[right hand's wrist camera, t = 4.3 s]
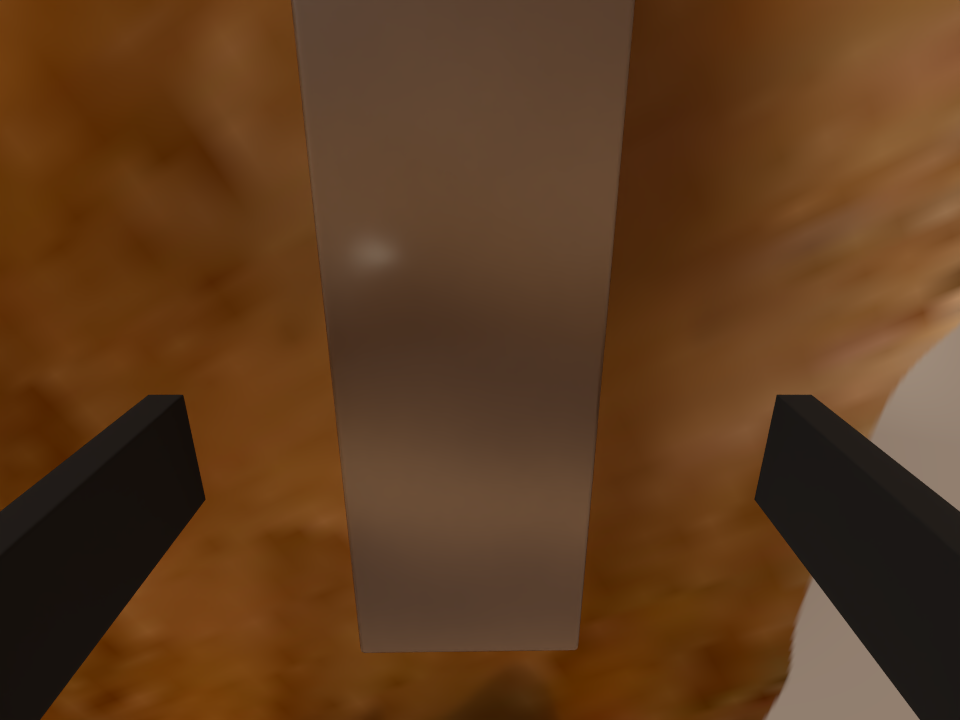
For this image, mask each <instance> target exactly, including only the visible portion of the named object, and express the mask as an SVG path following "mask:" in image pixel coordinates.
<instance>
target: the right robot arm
mask: <svg viewBox="0 0 960 720" xmlns="http://www.w3.org/2000/svg"><path fill="white" fill-rule="evenodd" d="M204 501H205V495H204V490H203V486H202V481H201V476H200V471H199V467H198V462H197V457H196V453H195V448H194V443H193V439H192V434H191V429H190V425H189V420H188V415H187V411H186V406H185V401H184V396H183V395H148V396H146V397H145V398H144V399H143V400H141V401H140V402H139V403H138V404H136V405H135V406H134V407H133V408H131V409H130V410H129V411H127V412H126V413H125V414H124V415H122V416H121V417H120V418H119V419H117V420H116V421H115V422H113V423H112V424H111V425H110V426H108V427H107V428H106V429H105V430H103V431H102V432H101V433H99V434H98V435H97V436H96V437H94V438H93V439H92V440H91V441H89V442H88V443H87V444H86V445H84V446H83V447H82V448H80V449H79V450H78V451H77V452H75V453H74V454H73V455H72V456H70V457H69V458H68V459H66V460H65V461H64V462H63V463H61V464H60V465H59V466H58V467H56V468H55V469H54V470H52V471H51V472H50V473H49V474H47V475H46V476H45V477H44V478H42V479H41V480H40V481H39V482H37V483H36V484H35V485H33V486H32V487H31V488H30V489H28V490H27V491H26V492H25V493H23V494H22V495H21V496H19V497H18V498H17V499H16V500H14V501H13V502H12V503H11V504H9V505H8V506H7V507H6V508H4V509H3V510H2V511H0V720H40V719H41V718H42V716H43V715H44V714H45V712H46V711H47V710H48V708H49V707H50V706H51V704H52V703H53V702H54V700H55V699H56V698H57V696H58V695H59V694H60V692H61V691H62V690H63V688H64V687H65V686H66V684H67V683H68V682H69V680H70V679H71V678H72V676H73V675H74V674H75V672H76V671H77V670H78V668H79V667H80V666H81V664H82V663H83V662H84V660H85V659H86V658H87V656H88V655H89V654H90V652H91V651H92V650H93V649H94V647H95V646H96V645H97V643H98V642H99V641H100V639H101V638H102V637H103V635H104V634H105V633H106V631H107V630H108V629H109V627H110V626H111V625H112V623H113V622H114V621H115V619H116V618H117V617H118V615H119V614H120V613H121V611H122V610H123V609H124V607H125V606H126V605H127V603H128V602H129V601H130V599H131V598H132V597H133V595H134V594H135V593H136V591H137V590H138V589H139V587H140V586H141V585H142V583H143V582H144V581H145V579H146V578H147V577H148V575H149V574H150V573H151V571H152V570H153V569H154V567H155V566H156V565H157V563H158V562H159V561H160V559H161V558H162V557H163V555H164V554H165V553H166V551H167V550H168V549H169V547H170V546H171V545H172V543H173V542H174V541H175V539H176V538H177V537H178V535H179V534H180V533H181V531H182V530H183V529H184V527H185V526H186V525H187V523H188V522H189V521H190V519H191V518H192V517H193V515H194V514H195V513H196V511H197V510H198V509H199V507H200V506H201V505H202V503H203V502H204ZM755 501H756V502H757V503H758V505H759V506H760V507H761V509H762V510H763V511H764V513H765V514H766V515H767V517H768V518H769V519H770V521H771V522H772V523H773V525H774V526H775V527H776V529H777V530H778V531H779V533H780V534H781V535H782V537H783V538H784V539H785V541H786V542H787V543H788V545H789V546H790V547H791V549H792V550H793V551H794V553H795V554H796V555H797V557H798V558H799V559H800V561H801V562H802V563H803V565H804V566H805V567H806V569H807V570H808V571H809V573H810V574H811V575H812V577H813V578H814V579H815V581H816V582H817V583H818V585H819V586H820V587H821V589H822V590H823V591H824V593H825V594H826V595H827V597H828V598H829V599H830V601H831V602H832V603H833V605H834V606H835V607H836V609H837V610H838V611H839V613H840V614H841V615H842V617H843V618H844V619H845V621H846V622H847V623H848V625H849V626H850V627H851V628H852V630H853V631H854V633H855V634H856V635H857V637H858V638H859V639H860V640H861V642H862V643H863V644H864V646H865V647H866V649H867V650H868V651H869V652H870V654H871V655H872V656H873V658H874V659H875V660H876V662H877V663H878V664H879V666H880V667H881V668H882V670H883V671H884V672H885V674H886V675H887V676H888V678H889V679H890V680H891V682H892V683H893V684H894V686H895V687H896V688H897V690H898V691H899V692H900V694H901V695H902V696H903V698H904V699H905V700H906V702H907V703H908V704H909V706H910V707H911V708H912V710H913V711H914V712H915V714H916V715H917V716H918V718H919V719H920V720H960V511H958V510H957V509H956V508H954V507H953V506H952V505H951V504H949V503H948V502H947V501H946V500H944V499H943V498H942V497H940V496H939V495H938V494H937V493H935V492H934V491H933V490H932V489H930V488H929V487H928V486H926V485H925V484H924V483H923V482H921V481H920V480H919V479H918V478H916V477H915V476H914V475H913V474H911V473H910V472H909V471H907V470H906V469H905V468H904V467H902V466H901V465H900V464H899V463H897V462H896V461H895V460H893V459H892V458H891V457H890V456H888V455H887V454H886V453H885V452H883V451H882V450H881V449H880V448H878V447H877V446H876V445H874V444H873V443H872V442H871V441H869V440H868V439H867V438H866V437H864V436H863V435H862V434H861V433H859V432H858V431H857V430H855V429H854V428H853V427H852V426H850V425H849V424H848V423H847V422H845V421H844V420H843V419H841V418H840V417H839V416H838V415H836V414H835V413H834V412H833V411H831V410H830V409H829V408H827V407H826V406H825V405H824V404H822V403H821V402H820V401H819V400H817V399H816V398H815V397H814V396H812V395H777V396H776V401H775V406H774V411H773V415H772V420H771V425H770V429H769V434H768V439H767V443H766V448H765V453H764V457H763V462H762V467H761V471H760V476H759V481H758V486H757V490H756V495H755Z"/></svg>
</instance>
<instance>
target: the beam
mask: <svg viewBox="0 0 960 720" xmlns="http://www.w3.org/2000/svg"><path fill="white" fill-rule="evenodd" d="M291 4H292V13H293V23H294V32H295V41H296V51H297V60H298V69H299V79H300V88H301V97H302V107H303V116H304V125H305V134H306V144H307V153H308V162H309V172H310V181H311V190H312V200H313V209H314V218H315V228H316V237H317V246H318V256H319V265H320V274H321V283H322V293H323V302H324V311H325V321H326V330H327V339H328V349H329V358H330V367H331V377H332V386H333V395H334V404H335V414H336V423H337V432H338V442H339V451H340V460H341V470H342V479H343V488H344V498H345V507H346V516H347V525H348V535H349V544H350V553H351V563H352V572H353V581H354V591H355V600H356V609H357V619H358V628H359V637H360V646H361V651H362V652H364V653H379V652H458V651H536V650H576V649H577V648H578V641H579V630H580V618H581V607H582V596H583V584H584V573H585V562H586V550H587V539H588V528H589V516H590V505H591V494H592V482H593V471H594V460H595V448H596V437H597V426H598V414H599V403H600V392H601V380H602V369H603V358H604V346H605V335H606V324H607V312H608V301H609V290H610V278H611V267H612V256H613V244H614V233H615V222H616V210H617V199H618V188H619V176H620V165H621V154H622V142H623V131H624V120H625V108H626V97H627V86H628V74H629V63H630V52H631V40H632V29H633V18H634V6H635V0H291Z"/></svg>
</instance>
